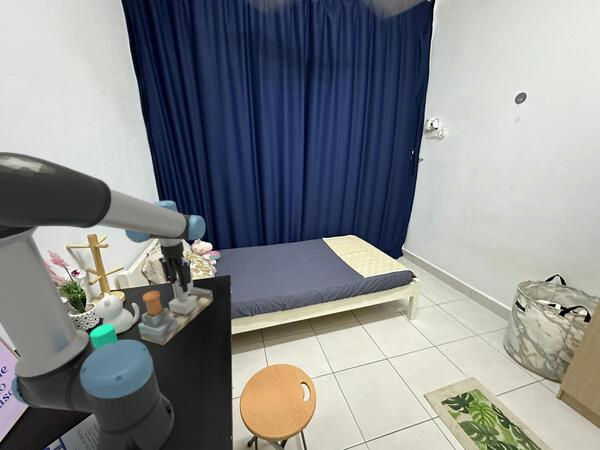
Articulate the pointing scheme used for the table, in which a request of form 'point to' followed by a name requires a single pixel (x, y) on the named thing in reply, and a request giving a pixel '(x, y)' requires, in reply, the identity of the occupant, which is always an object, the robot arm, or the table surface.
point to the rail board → (182, 319)
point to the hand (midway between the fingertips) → (181, 297)
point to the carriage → (182, 302)
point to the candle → (103, 335)
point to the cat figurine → (115, 313)
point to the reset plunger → (152, 302)
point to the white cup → (190, 285)
